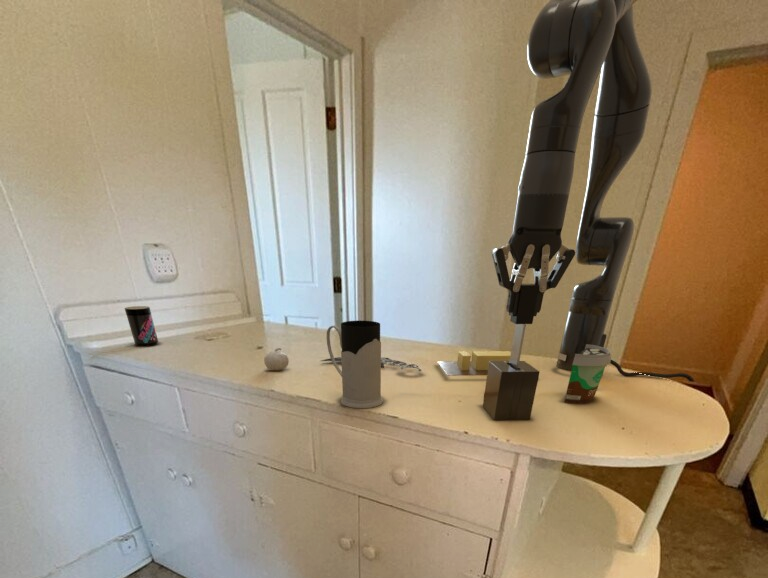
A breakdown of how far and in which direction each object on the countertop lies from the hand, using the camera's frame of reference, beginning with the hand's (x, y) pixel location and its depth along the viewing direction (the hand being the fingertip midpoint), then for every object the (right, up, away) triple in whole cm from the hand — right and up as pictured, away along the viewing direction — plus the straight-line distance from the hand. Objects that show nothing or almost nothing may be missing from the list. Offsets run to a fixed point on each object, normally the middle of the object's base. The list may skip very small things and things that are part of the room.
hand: (522, 315), depth 74 cm
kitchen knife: (0, -9, +6) cm, 10 cm away
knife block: (0, -15, +10) cm, 18 cm away
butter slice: (-4, +2, +34) cm, 34 cm away
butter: (+3, +3, +34) cm, 35 cm away
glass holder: (-31, -10, +16) cm, 36 cm away
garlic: (-52, +2, +35) cm, 62 cm away
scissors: (-27, +4, +38) cm, 47 cm away
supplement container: (-98, +17, +58) cm, 115 cm away
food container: (+19, -10, +18) cm, 28 cm away
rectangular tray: (+1, +1, +35) cm, 35 cm away
